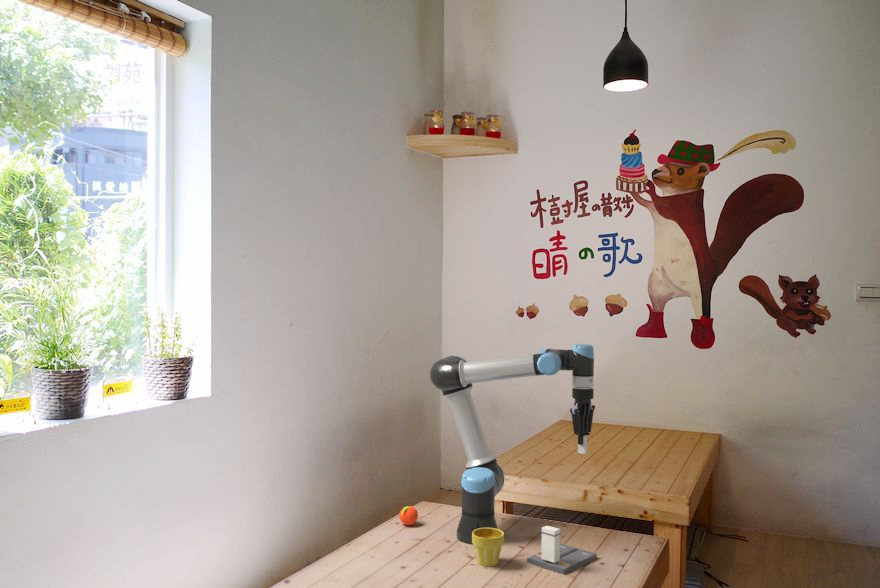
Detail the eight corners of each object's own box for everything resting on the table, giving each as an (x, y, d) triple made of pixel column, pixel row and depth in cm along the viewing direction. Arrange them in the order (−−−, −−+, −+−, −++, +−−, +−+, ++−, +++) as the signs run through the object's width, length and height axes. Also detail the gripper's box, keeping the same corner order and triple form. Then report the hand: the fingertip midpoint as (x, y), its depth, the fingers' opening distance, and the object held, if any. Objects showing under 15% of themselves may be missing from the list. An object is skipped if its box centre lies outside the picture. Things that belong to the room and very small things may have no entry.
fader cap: (541, 558, 238) (541, 527, 238) (546, 556, 240) (547, 525, 240) (554, 562, 234) (554, 531, 234) (560, 560, 237) (560, 529, 236)
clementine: (409, 529, 271) (409, 510, 271) (393, 526, 275) (394, 507, 275) (421, 524, 278) (421, 505, 278) (406, 520, 282) (406, 502, 282)
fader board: (527, 562, 240) (527, 557, 240) (560, 547, 254) (560, 542, 254) (563, 574, 230) (563, 569, 230) (596, 558, 244) (596, 553, 244)
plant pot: (502, 570, 233) (502, 539, 233) (469, 567, 236) (469, 536, 235) (505, 558, 244) (505, 528, 244) (474, 555, 246) (474, 526, 246)
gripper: (581, 390, 259) (581, 458, 259) (601, 386, 268) (601, 452, 268) (563, 388, 264) (563, 454, 264) (583, 384, 273) (583, 448, 274)
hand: (582, 453), depth 266 cm, fingers closed
